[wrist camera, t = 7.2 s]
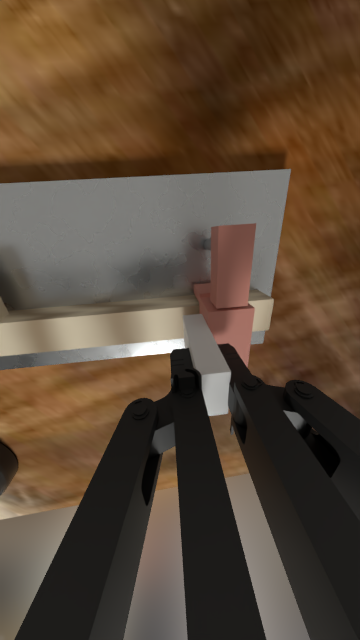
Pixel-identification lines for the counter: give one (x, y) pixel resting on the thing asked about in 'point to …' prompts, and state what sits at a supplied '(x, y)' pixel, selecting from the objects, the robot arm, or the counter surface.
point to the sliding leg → (229, 287)
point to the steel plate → (128, 244)
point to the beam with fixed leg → (107, 323)
